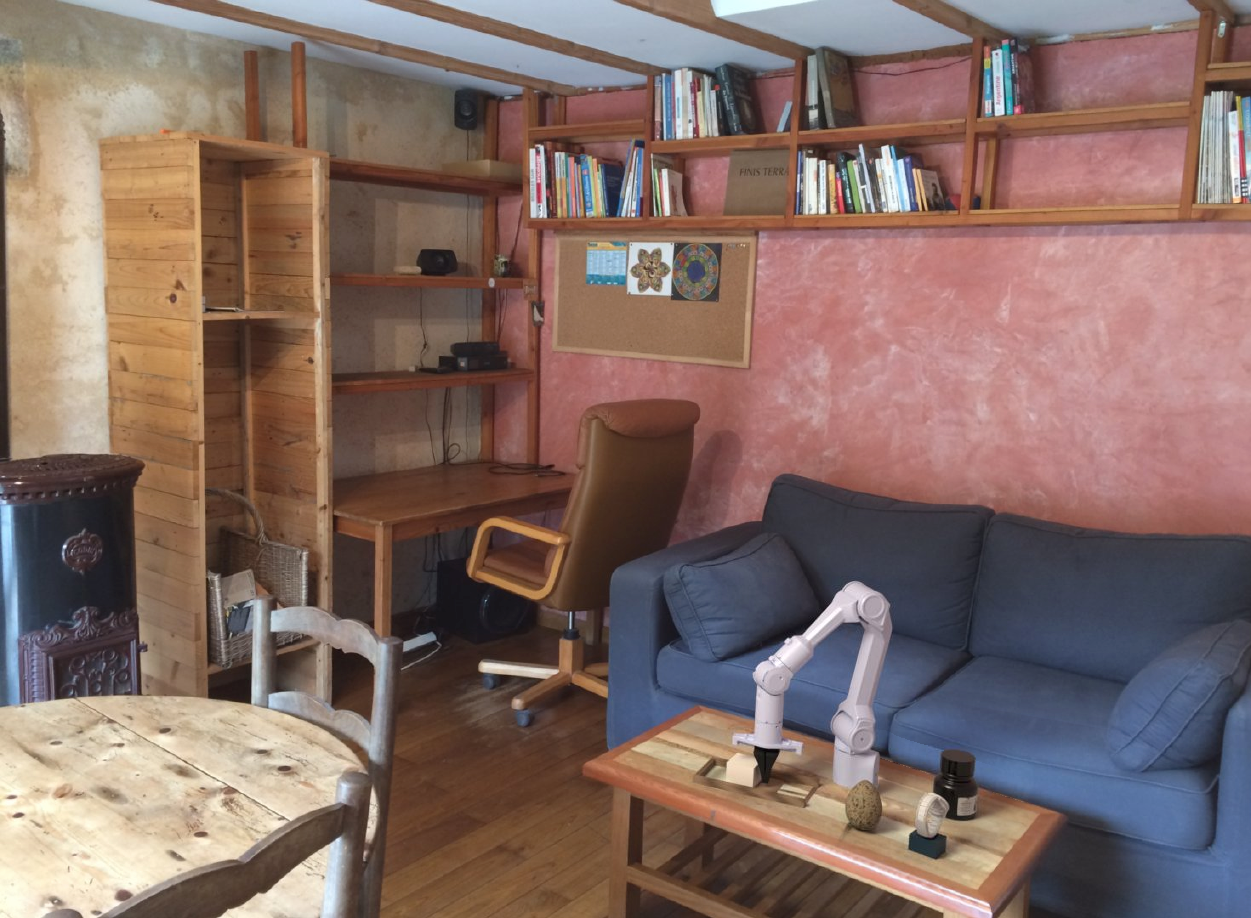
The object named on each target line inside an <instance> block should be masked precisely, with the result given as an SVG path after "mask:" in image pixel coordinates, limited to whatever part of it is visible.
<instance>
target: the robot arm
mask: <svg viewBox="0 0 1251 918" xmlns="http://www.w3.org/2000/svg"><path fill="white" fill-rule="evenodd" d="M890 608H891V603H889V601H888V600H887V598H886V597H885V596H884V595H883V593H881V592H880V591H876V590H874V589H872V588H871V587H868V586H867V585H866V584H864V583H863V582H860V581H857V580H854V581H850V582H848V583H847V584H845V585H844V586H843V587H842V589H841V590H840V591H839V590H838V592H837V593H836V594H835V595H834V598H833V599H832V601H831V603H830V604H829V605H828V607H826V609H825V610H824V611H823V612H821V614H820V615H819V616H818V617H817V618H816V619H815V620H814V622H813V623H812V624H811V625H810V626H809V627H808V628H807V629H806V630H805V632H804V633H803V634H802V635H801V634H800V635H793V636H792V637H791V638H790V637H787V638H786V639H785V640H784V642H783V643H784V644H783V645H782V646H781V647H780V648H779V649H778V651H776V652H775V653H774V654H773V655H770V656H769V657H768V660H765V661H764V660H763V661H762V662H760V663H759V664H758V665H757V666H756V667H755V671H753V672H752V679H753V680H754V682H755V683H756V696H755V715H754V719H755V720H754V733H738V732H737V733H736V732H734V733H733V735H732V746H738V745H740V746H746V747H753V756H754V757H755V759H756V761H757V763H758V766H759V769H760V773H761V779H762V783H767V784H768V782H769V778H770V773H771V770H772V769H773V767H774V764H775V762H776V760H777V759H778V757H779V755H780V753H781V752H789V753H794V754H796V755H798V756H799V755H800V756H801V755H802V754H803V751H804V742H802V741H801V742H800V741H796V740H793V739H788V738H785V737H783V718H784V705H785V704H784V701H785V691H787V690H788V689H789V688H790V685H791V679H792V678H793V676H795V674H797V672H799V670H800V669H802V667H804V665H806V663H808V662H809V660H811V659H812V658H813V657H814V649H815V647H816V646H817V645H818V644H819V643H821V642H822V641H823V640H824V639H825V638H827V637H828V636H829V635H830V634H831V633H832V632H834V631H835V630H836V629H838V627H839V626H840V625H842V624H843V623H847V624H848V623H860V625H862V628H863V629H864V631H863V635H862V640H861V643H860V648H859V652H858V655H857V659H856V663H855V667H854V669H853V670H854V671H853V674H852V678H851V680H850V681H851V682H850V686H849V689H848V693H847V697H846V699H845V700H843V701H842V702H841V703H839V705H838V707H837V711H836V713H835V714H833V716H832V717H831V720H830V725H829V726H830V730H831V733H832V734H833V735H834V736H835V737H834V745H833V746H834V747H833V748H834V749H833V763H832V764H833V765H832V781H833V782H834V784H837V785H839V786H841V787H845V788H851V789H852V788H853V787H854V786H855V785H856V784H857V783H858V782H860V781H862V780H868V781H869V782H871V783H872V784H873V786H874V787H875V788H876V789H877V788H878V787H879V772H880V771H879V770H880V752H878V751H876V750H872V749H871V748H872V747H873V746H874V744H875V741H876V732H875V726H876V718H875V714H874V711H873V705H874V701H875V697H876V693H877V689H878V685H879V681H880V678H881V674H882V671H883V666H884V663H885V658H886V656H887V655H886V654H887V651H888V648H889V647H888V646H889V643H890V641H891V637H892V632H893V624H892V618H891V614H890Z"/></svg>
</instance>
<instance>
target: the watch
mask: <svg viewBox="0 0 1251 918" xmlns="http://www.w3.org/2000/svg"><path fill="white" fill-rule="evenodd" d="M948 810H949V805H948V803H947V802H946V800H945V799H943V798H942V797H941V796H939V795H937V794H934V793H933V792H928V793H927V792H925V793H924V794H923V795H922V796H921V798H920V799H919V801H918V805H917V807H916V812H915V819H914V826H915V829H914V830H913V831H912V832H909V834H908V849H907V850H909V851H911V852H914V853H917V854H919V855H921V856H925V857H927V858H930V859H931V860H937V859H938V858H939V857H941V856H942V855H943V854H945V853H946V850H947V835H944V834H942V833H939V831H940V829H941V827H942V824H943V822H944V820H945V819H946V818H947V817H946V814H947V811H948ZM928 814H929V815H930V818H929V822H927V818H928Z"/></svg>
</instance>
